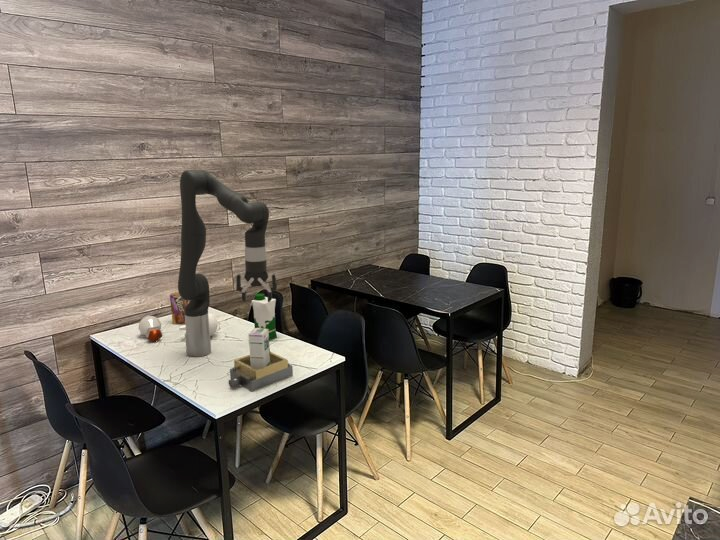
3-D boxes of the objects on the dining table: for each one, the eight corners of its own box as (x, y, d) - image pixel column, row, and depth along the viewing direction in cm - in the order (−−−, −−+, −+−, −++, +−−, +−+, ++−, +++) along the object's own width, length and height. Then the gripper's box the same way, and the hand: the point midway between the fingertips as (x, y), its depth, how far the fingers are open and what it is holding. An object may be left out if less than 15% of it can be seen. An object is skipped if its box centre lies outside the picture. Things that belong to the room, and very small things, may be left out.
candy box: (193, 321, 246) (191, 291, 242) (189, 324, 242) (187, 294, 238) (176, 321, 247) (173, 291, 243) (172, 324, 242) (169, 294, 239)
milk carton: (264, 333, 231) (262, 291, 226) (279, 337, 226) (278, 294, 221) (251, 339, 223) (249, 296, 219) (266, 343, 219) (264, 299, 214)
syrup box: (265, 371, 182) (263, 333, 179) (250, 370, 183) (248, 332, 180) (270, 364, 188) (269, 328, 184) (255, 363, 189) (253, 327, 185)
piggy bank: (222, 337, 230) (191, 338, 231) (221, 311, 231) (190, 313, 232) (211, 339, 217) (178, 340, 219) (210, 312, 218) (177, 313, 220)
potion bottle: (151, 334, 233) (159, 348, 222) (132, 326, 227) (138, 340, 215) (162, 317, 234) (170, 330, 222) (143, 309, 227) (150, 322, 216)
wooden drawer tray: (242, 395, 172) (240, 377, 171) (220, 382, 182) (219, 364, 180) (292, 375, 188) (292, 358, 186) (270, 364, 197) (269, 348, 196)
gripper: (233, 260, 175) (235, 305, 179) (274, 260, 176) (276, 304, 180) (237, 256, 182) (239, 298, 186) (276, 256, 183) (277, 298, 187)
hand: (257, 301), depth 183 cm, fingers open, 8 cm apart
